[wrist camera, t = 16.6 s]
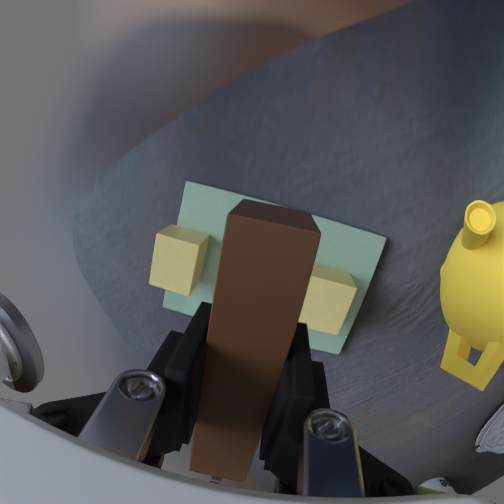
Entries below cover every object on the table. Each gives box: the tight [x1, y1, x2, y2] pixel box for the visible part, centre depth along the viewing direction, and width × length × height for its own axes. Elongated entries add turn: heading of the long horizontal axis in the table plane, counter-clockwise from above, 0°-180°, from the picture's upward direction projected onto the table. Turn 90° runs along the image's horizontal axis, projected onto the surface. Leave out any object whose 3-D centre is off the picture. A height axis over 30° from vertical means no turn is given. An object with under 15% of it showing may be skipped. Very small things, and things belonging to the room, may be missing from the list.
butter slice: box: [149, 224, 210, 296], centre depth 24 cm, size 3×4×3 cm
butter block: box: [298, 263, 357, 336], centre depth 24 cm, size 7×4×3 cm, turn 76°
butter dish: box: [163, 180, 387, 355], centre depth 25 cm, size 16×11×1 cm
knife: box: [189, 199, 321, 484], centre depth 12 cm, size 21×2×3 cm, turn 169°
